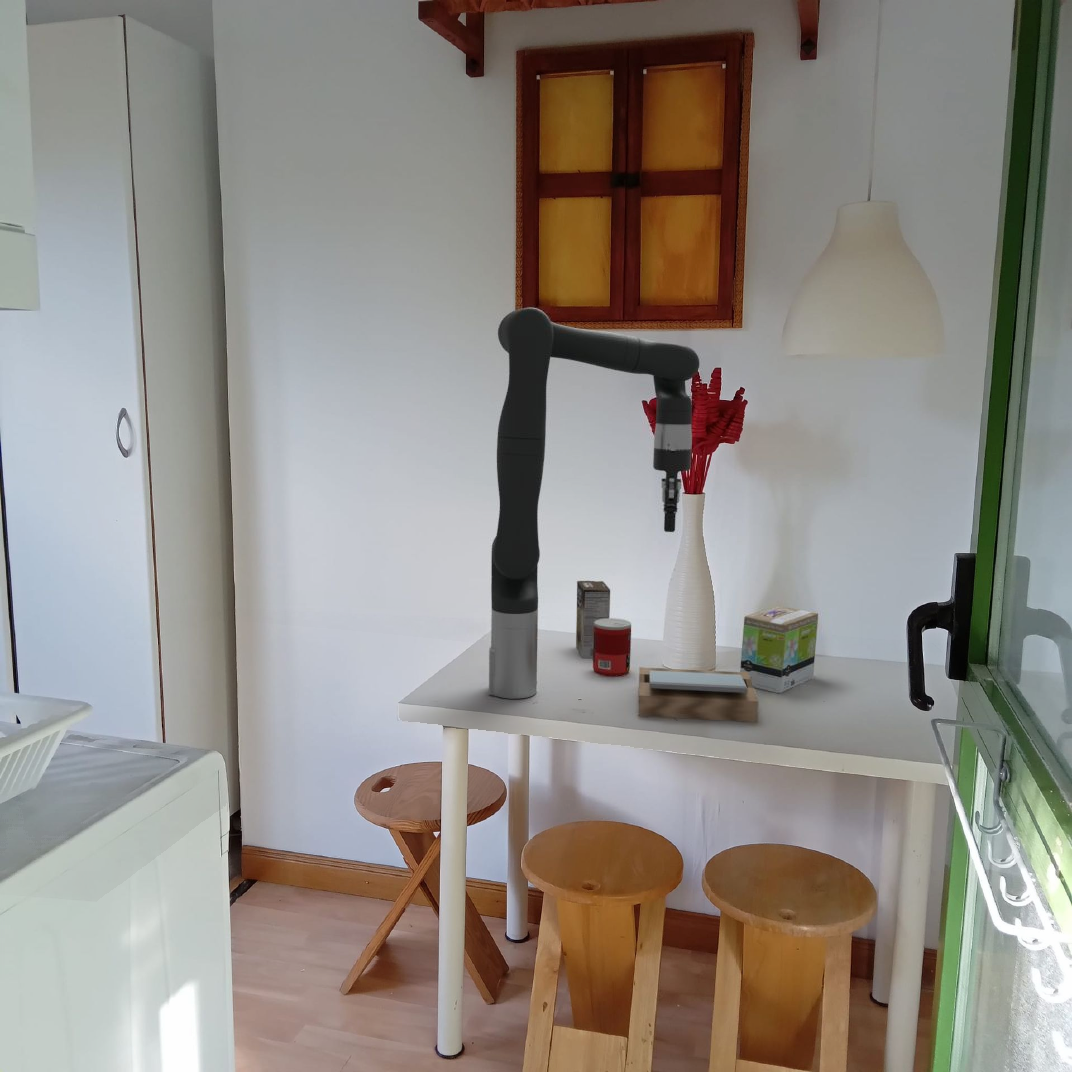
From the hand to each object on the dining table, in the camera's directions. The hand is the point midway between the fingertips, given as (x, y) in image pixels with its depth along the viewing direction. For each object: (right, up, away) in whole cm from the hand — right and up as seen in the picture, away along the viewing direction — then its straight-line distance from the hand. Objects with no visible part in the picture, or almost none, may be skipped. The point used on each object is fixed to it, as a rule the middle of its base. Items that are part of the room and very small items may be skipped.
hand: (669, 531), depth 199 cm
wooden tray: (+4, -34, -8) cm, 35 cm away
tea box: (+24, -32, +7) cm, 40 cm away
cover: (+4, -29, -11) cm, 32 cm away
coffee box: (-14, -28, +26) cm, 41 cm away
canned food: (-11, -31, +12) cm, 34 cm away
